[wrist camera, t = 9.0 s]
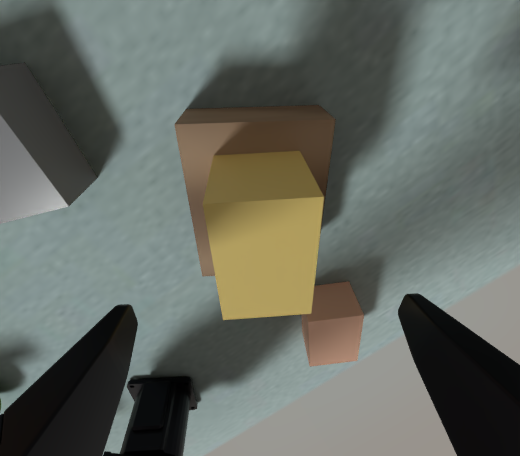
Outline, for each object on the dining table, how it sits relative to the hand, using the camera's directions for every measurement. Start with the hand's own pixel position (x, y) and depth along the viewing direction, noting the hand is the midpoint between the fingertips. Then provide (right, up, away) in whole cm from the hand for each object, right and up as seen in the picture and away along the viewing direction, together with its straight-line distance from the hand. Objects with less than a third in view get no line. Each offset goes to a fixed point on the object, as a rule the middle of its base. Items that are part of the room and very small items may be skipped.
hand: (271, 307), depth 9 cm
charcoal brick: (-13, +8, +6) cm, 16 cm away
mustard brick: (0, +4, +5) cm, 7 cm away
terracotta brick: (+5, -4, +15) cm, 17 cm away
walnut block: (-1, +5, +8) cm, 10 cm away
